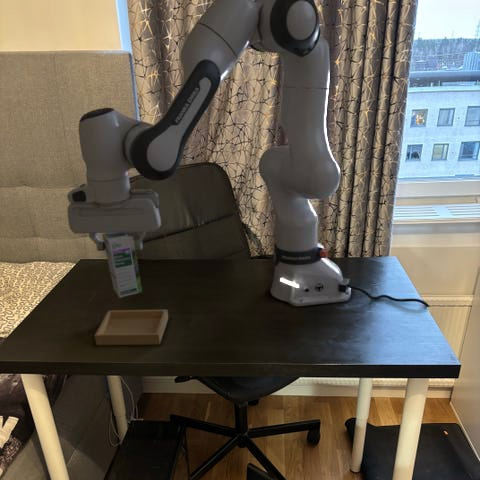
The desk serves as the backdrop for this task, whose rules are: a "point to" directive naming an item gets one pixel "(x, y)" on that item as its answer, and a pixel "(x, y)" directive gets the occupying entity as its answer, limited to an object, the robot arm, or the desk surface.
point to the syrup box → (122, 263)
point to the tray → (132, 327)
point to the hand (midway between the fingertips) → (120, 249)
